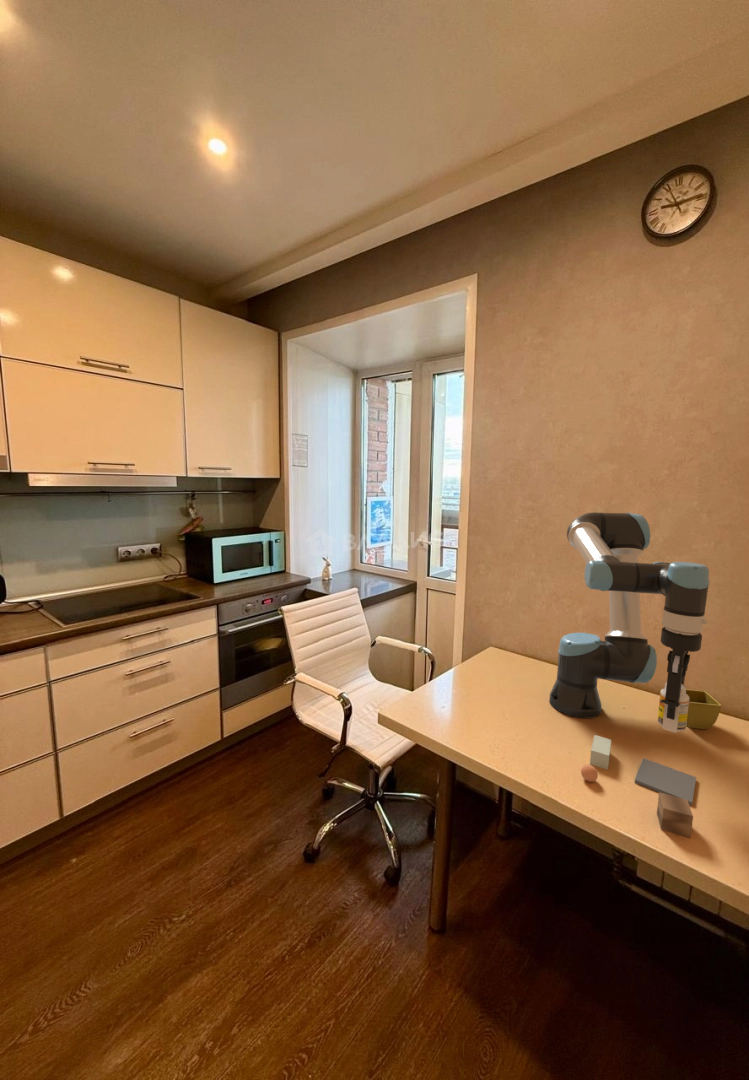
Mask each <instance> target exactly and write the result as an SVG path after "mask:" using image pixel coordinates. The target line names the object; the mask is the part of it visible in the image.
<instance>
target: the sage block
mask: <svg viewBox="0 0 749 1080" xmlns="http://www.w3.org/2000/svg"><path fill="white" fill-rule="evenodd" d="M611 747H612V739H610V738H606V737H603V736H599V735H596V734H594V736H593V740H592V744H591V748H590V749H591V750H590V757H589V765H591V766H593V767H598V768H600V769H604V770H607V771H608V769H609V764H610V758H611V757H610V756H611Z"/></svg>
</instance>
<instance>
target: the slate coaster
mask: <svg viewBox="0 0 749 1080" xmlns="http://www.w3.org/2000/svg"><path fill="white" fill-rule="evenodd" d="M638 767H639V768H638V771H637V773H636V775H635V778H634V783H635V784H638V785H640V786H642V787H645V788H647V789H649V790H652V791H655V792H658V793H659V792H660V793H664V794H668V795H671V796H675V797H679V798H683V799H686V800H688V803H689V806H690V807H691V806H693V801H694V800H693V799H694V794H695V788H696V782H697V777H696V776H694V775H691V774H688V773H685V772H683V771H680V770H677V769H675V768H672V767H670V766H666V765H664V764H661V763H659V762H655V761H653V760H650V759H648V758H646V757H642V760H641V762H640V765H639V766H638Z"/></svg>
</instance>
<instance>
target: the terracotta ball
mask: <svg viewBox="0 0 749 1080" xmlns="http://www.w3.org/2000/svg"><path fill="white" fill-rule="evenodd" d="M580 775H581V777H582V778H583V780H585V781H587V782H591V783H593V782H595V781H597V780H598V776H599V774H598V770H597V769H596V767H595V766H594V765H591V764H585V765H583V766H582V767H581V769H580Z"/></svg>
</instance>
